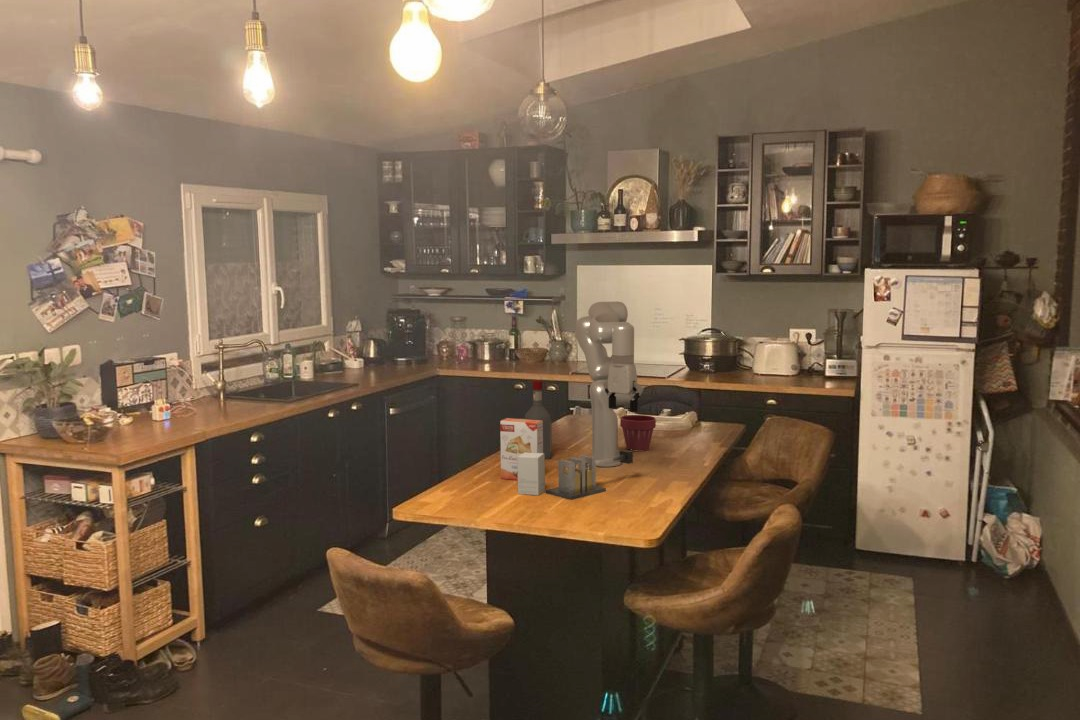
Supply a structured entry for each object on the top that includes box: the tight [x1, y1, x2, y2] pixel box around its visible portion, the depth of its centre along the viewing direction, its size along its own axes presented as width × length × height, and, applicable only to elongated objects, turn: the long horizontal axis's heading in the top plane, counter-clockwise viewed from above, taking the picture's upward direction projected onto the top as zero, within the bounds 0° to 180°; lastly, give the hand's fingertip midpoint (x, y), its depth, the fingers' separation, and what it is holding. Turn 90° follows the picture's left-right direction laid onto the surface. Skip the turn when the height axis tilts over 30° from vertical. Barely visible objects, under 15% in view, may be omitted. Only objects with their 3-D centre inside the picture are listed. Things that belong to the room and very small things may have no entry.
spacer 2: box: [576, 467, 592, 489], centre depth 295 cm, size 2×6×6 cm, turn 43°
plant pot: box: [619, 414, 657, 451], centre depth 360 cm, size 14×14×13 cm
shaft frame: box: [544, 454, 607, 501], centre depth 292 cm, size 16×12×11 cm
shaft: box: [585, 449, 634, 469], centre depth 302 cm, size 20×4×4 cm, turn 133°
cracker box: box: [499, 417, 543, 481], centre depth 310 cm, size 14×6×21 cm, turn 68°
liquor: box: [523, 379, 553, 460], centre depth 343 cm, size 9×9×30 cm
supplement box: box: [517, 452, 546, 496], centre depth 292 cm, size 7×7×13 cm
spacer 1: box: [565, 469, 580, 492], centre depth 291 cm, size 2×6×6 cm, turn 43°
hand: (622, 409), depth 307 cm, fingers open, 9 cm apart
